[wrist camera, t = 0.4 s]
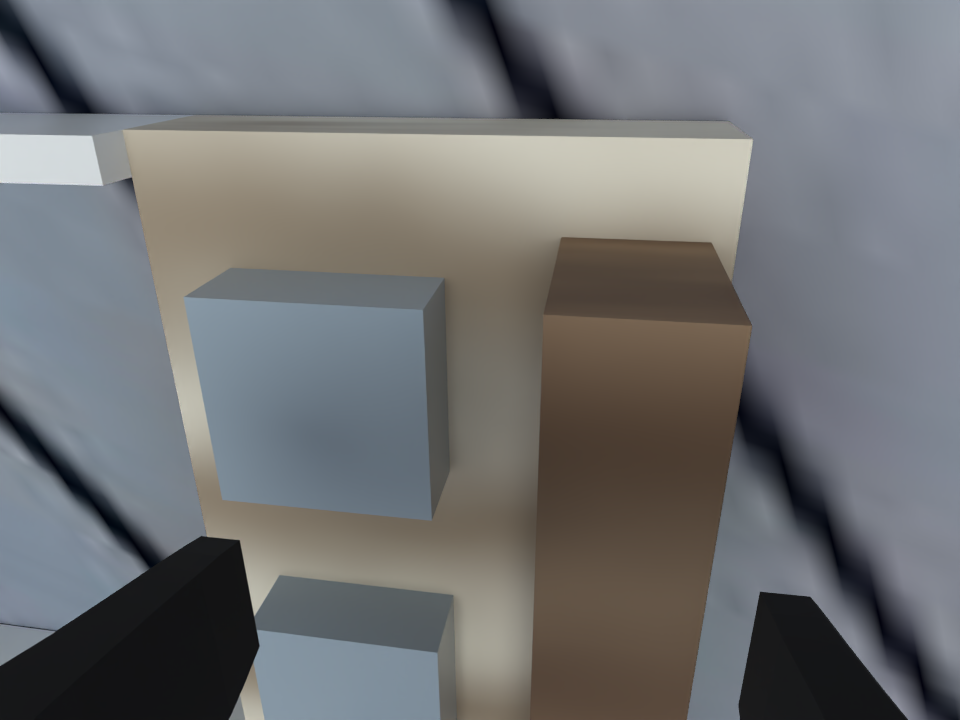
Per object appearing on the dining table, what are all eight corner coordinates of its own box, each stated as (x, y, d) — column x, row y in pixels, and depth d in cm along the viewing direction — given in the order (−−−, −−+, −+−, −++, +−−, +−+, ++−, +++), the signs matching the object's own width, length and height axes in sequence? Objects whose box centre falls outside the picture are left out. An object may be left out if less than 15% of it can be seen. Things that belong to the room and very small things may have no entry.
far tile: (457, 722, 21) (442, 786, 20) (299, 700, 22) (272, 759, 20) (453, 595, 19) (437, 652, 17) (279, 575, 20) (247, 628, 18)
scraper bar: (640, 772, 21) (648, 948, 17) (539, 757, 21) (522, 926, 17) (711, 242, 14) (752, 325, 10) (561, 237, 15) (543, 314, 11)
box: (289, 682, 26) (238, 784, 23) (-20, 639, 28) (-111, 727, 25) (195, 115, 18) (92, 135, 14) (-234, 109, 20) (-419, 127, 16)
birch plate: (647, 731, 24) (651, 818, 22) (289, 682, 26) (252, 755, 24) (729, 120, 16) (752, 139, 13) (195, 115, 18) (122, 129, 15)
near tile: (450, 470, 18) (431, 520, 16) (260, 454, 18) (222, 499, 17) (444, 277, 15) (422, 310, 14) (230, 267, 16) (183, 297, 14)
